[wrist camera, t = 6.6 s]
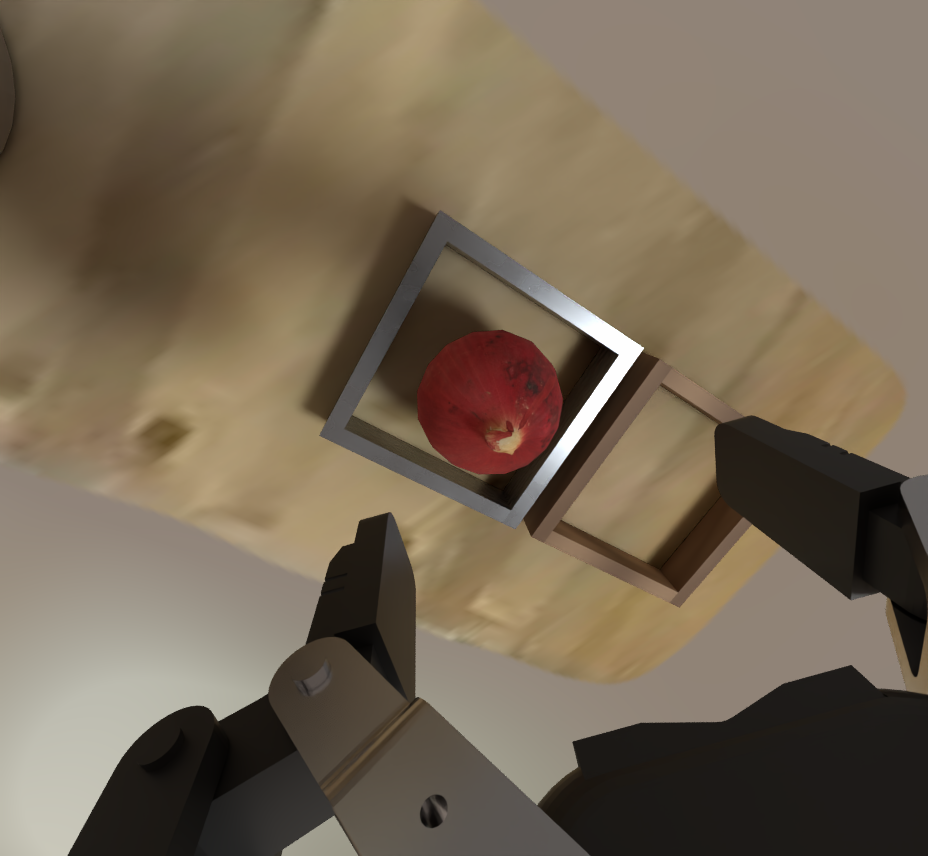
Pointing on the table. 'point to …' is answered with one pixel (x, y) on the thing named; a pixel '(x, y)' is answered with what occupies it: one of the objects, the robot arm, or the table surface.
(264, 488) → the table surface
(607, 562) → the walnut frame
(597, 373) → the grey frame
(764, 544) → the table surface
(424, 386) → the pomegranate
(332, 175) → the table surface
